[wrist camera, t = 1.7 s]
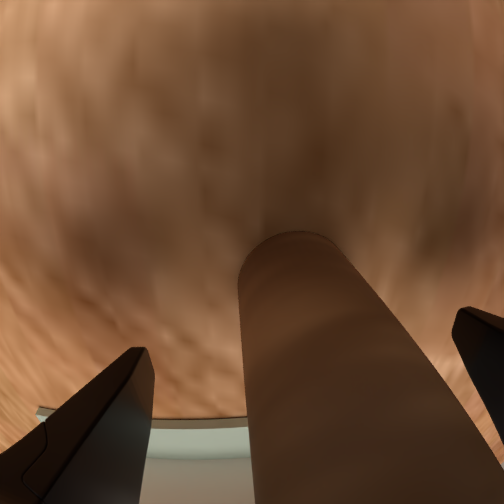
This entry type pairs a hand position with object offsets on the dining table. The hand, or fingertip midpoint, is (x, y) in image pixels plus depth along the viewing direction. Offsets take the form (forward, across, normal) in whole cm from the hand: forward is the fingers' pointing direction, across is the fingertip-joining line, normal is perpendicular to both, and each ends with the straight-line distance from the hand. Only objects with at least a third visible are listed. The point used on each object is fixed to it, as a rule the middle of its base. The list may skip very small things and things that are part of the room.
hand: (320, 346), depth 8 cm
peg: (+4, 0, 0) cm, 4 cm away
